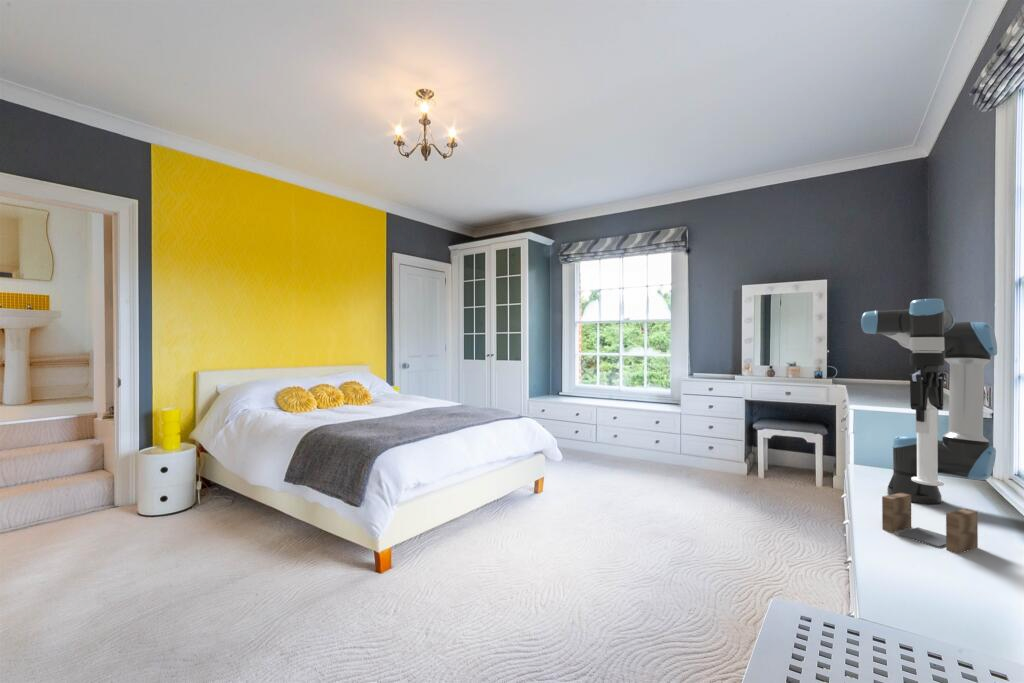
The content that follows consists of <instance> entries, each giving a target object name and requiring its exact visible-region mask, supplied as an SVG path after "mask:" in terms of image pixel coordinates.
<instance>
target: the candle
mask: <svg viewBox="0 0 1024 683" xmlns="http://www.w3.org/2000/svg"><path fill="white" fill-rule="evenodd" d="M926 411H928V418H929V434H925V433H918V432H916V434H917V477H912V478H911V480H912V481H913V482H916V483H919V484H924V485H931V486H938V487H943V486H944V485H945V482H944V481H942V480H940V479H939V478H938V476H939V473H938V440H939V439H938V433H937V408H936V407H934V406H933V405H931V404H930V402H929V399H928V400H927V408H926Z"/></svg>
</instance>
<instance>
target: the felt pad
mask: <svg viewBox="0 0 1024 683" xmlns="http://www.w3.org/2000/svg"><path fill="white" fill-rule="evenodd" d="M897 534H898V535H897ZM896 535H897V536H900V537H904V538H906V537H907V539H909V538H910V539H909V540H912V539H914V540H913V541H915V540H917V541H916V542H919V541H920V542H919V543H922V542H923V543H922V544H925V543H926V544H925V545H928V544H929V545H928V546H931V545H932V546H931V547H934V546H935V547H934V548H937V547H938V549H940V548H942V547H946V534H942V533H938V532H936V531H932V530H928V529H926V528H922V527H914V528H908V529H904V530H900V531H897V532H896ZM939 547H940V548H939Z"/></svg>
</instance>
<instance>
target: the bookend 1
mask: <svg viewBox="0 0 1024 683" xmlns="http://www.w3.org/2000/svg"><path fill="white" fill-rule="evenodd" d="M881 497H882V499H881V500H882V502H881V505H882V507H881V508H882V509H881V510H882V511H881V512H882V514H881V517H882V521H881V525H882V530H883V531H886V532H889V533H896V532H901V531H905V530H909V529H912V502H911V495H909V494H905V493H897V494H892V495H889V494H888V495H883V496H881ZM895 531H896V532H895Z"/></svg>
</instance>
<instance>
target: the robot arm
mask: <svg viewBox="0 0 1024 683" xmlns="http://www.w3.org/2000/svg"><path fill="white" fill-rule="evenodd" d="M944 302H945V301H944V300H943V299H941V298H922V299H914V300H912V301H911V302H910V303H909V308H908V309H892V310H890V309H889V310H888V309H887V310H871V311H865V312H863V314H862V315H861V320H860V321H861V322H860V325H861V326H860V327H861V329H862V331H863V333H865V334H868V335H869V334H870V335H871V334H872V335H876V334H878V335H880V334H881V335H883V336H885V337H888V338H890V339H892V340H894V341H896V342H897V343H898V345H900V346H901V347H902V348H905V349H907V350H910V351H911V352H910V353H909V364H910V365H911V366H915V369H914V373H909V374H908V378H909V389H910V390H909V392H910V393H909V396H910V402H909V404H910V409H911V410H914V411H915V434H914V433H912V434H911V433H910V434H907V433H906V434H899V435H896V436H894V437H893V444H892V456H893V458H892V464H893V466H892V467H893V469H892V471H893V472H892V476H891V477H890V478H891V479H890V481H889V483H888V485H887V492H886V493H887V494H888V495H892V494H897V493H905V494H909V495H911V501H913V502H912V503H916V502H919V503H918V504H925V503H928V504H929V505H934V504H933V503H938V504H941V503H942V502H941V501H942V494H941V491H940V488H939V486H931V485H924V484H919V483H916V482H913V481H912V480H911V478H912V477H917V432H918V433H925V434H929V418H928V411H926V408H927V400H928V399H929V402H930V404H931V405H933V406H934V407H936V408H937V434H938V433H939V411H943V410H944V382H945V381H944V380H945V376H946V375H945V374H944V373H940V371H939V369H938V368H939V367H943V366H944V365H945V362H947V363H948V364H949V393H948V394H949V396H948V400H949V401H948V431H947V432H946V433H945V434H942V440H939V439H938V474H940V475H946V476H947V475H948V476H952V477H959V478H965V479H967V480H979V481H986V480H988V479H989V478H991V475H992V473H993V470H994V467H995V462H996V457H997V456H996V455H997V454H996V453H997V451H996V447H994V446H992V445H990V441H989V439H987V438H986V437H985V436H984V398H985V397H984V391H985V389H984V387H985V384H984V382H985V381H984V380H985V366H986V364H988V363H990V362H991V357H994V356H996V355H998V344H997V343H998V342H997V338H996V335H995V331H994V328H993V327H992V325H991V324H990V323H988V322H983V321H981V322H980V321H966V322H965V321H962V322H956V318H955V316H954V314H953V313H952V312H951V311H949V310H948V309H946V308H945V303H944ZM940 502H941V503H940ZM930 503H931V504H930ZM928 504H927V505H928Z"/></svg>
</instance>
